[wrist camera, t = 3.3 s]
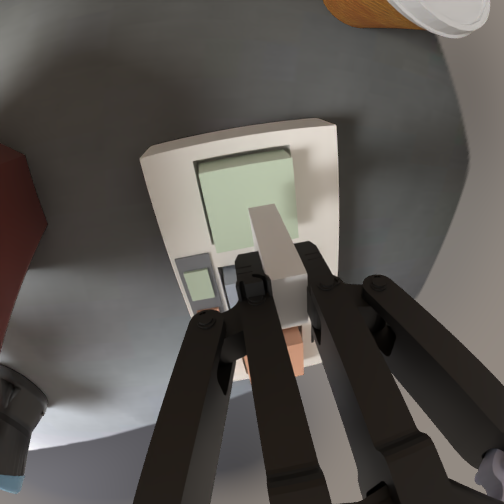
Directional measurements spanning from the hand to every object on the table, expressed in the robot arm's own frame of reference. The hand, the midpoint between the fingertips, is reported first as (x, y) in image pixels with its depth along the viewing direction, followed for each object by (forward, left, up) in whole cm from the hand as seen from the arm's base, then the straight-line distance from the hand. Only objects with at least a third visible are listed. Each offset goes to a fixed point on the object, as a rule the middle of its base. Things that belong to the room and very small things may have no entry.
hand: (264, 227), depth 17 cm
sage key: (0, 0, -6) cm, 6 cm away
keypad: (0, -9, -9) cm, 13 cm away
